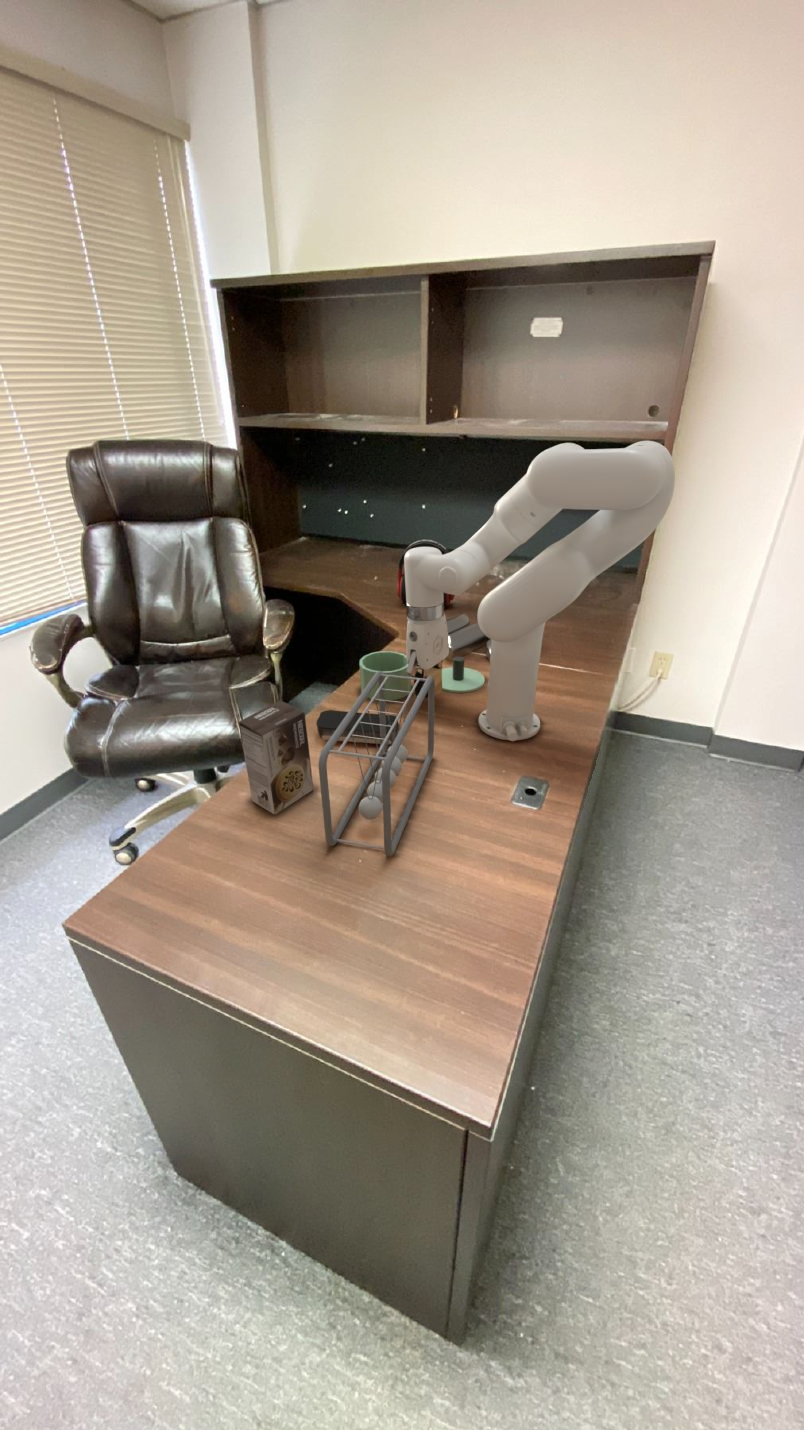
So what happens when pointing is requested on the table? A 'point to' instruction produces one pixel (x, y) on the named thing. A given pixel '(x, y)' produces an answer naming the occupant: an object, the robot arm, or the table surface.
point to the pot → (390, 666)
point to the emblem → (465, 637)
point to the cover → (461, 678)
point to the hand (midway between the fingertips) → (428, 690)
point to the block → (435, 678)
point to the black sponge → (332, 720)
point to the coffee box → (277, 756)
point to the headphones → (401, 578)
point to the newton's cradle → (389, 765)
